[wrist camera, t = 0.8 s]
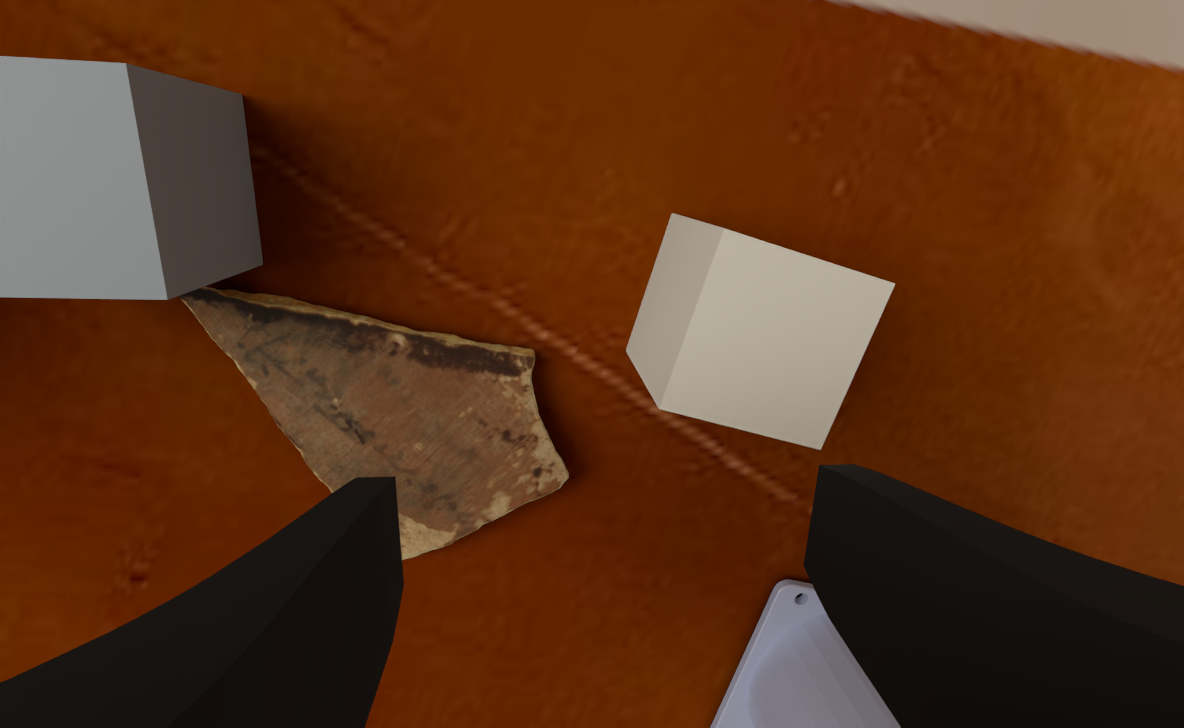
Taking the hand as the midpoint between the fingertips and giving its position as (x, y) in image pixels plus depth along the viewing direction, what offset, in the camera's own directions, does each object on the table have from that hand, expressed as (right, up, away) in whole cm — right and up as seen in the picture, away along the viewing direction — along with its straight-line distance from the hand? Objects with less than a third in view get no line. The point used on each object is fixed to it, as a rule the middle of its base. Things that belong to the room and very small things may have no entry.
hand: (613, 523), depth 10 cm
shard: (-7, +1, +10) cm, 12 cm away
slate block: (-12, +8, +6) cm, 16 cm away
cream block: (+3, +5, +9) cm, 11 cm away
